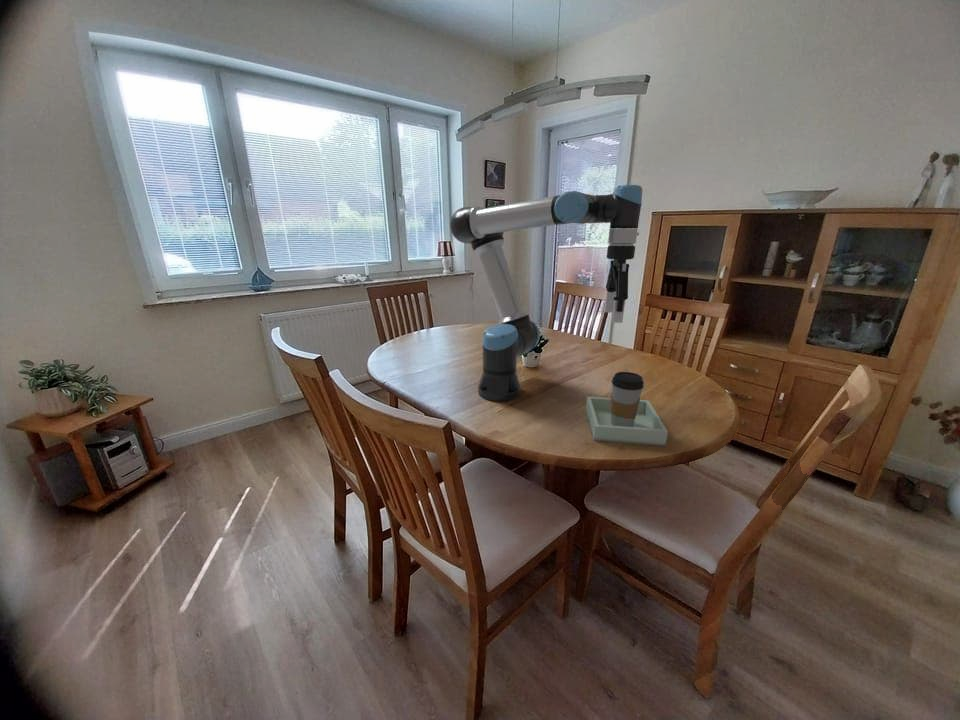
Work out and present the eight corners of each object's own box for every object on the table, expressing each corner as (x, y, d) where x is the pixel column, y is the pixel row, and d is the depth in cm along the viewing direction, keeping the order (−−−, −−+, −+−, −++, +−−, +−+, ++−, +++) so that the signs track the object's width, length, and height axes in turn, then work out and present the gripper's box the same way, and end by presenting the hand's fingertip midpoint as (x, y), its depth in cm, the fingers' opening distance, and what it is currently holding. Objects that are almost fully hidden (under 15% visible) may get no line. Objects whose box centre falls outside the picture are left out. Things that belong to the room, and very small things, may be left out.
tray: (593, 440, 98) (595, 426, 97) (585, 409, 115) (587, 396, 114) (665, 446, 96) (668, 431, 94) (646, 413, 113) (648, 400, 111)
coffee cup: (634, 434, 100) (642, 385, 95) (603, 426, 104) (609, 378, 99) (639, 421, 106) (647, 374, 101) (610, 414, 111) (616, 369, 105)
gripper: (647, 246, 92) (635, 327, 99) (625, 243, 115) (617, 308, 122) (616, 246, 93) (607, 326, 100) (601, 243, 116) (594, 308, 123)
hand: (612, 317), depth 111 cm, fingers open, 13 cm apart
